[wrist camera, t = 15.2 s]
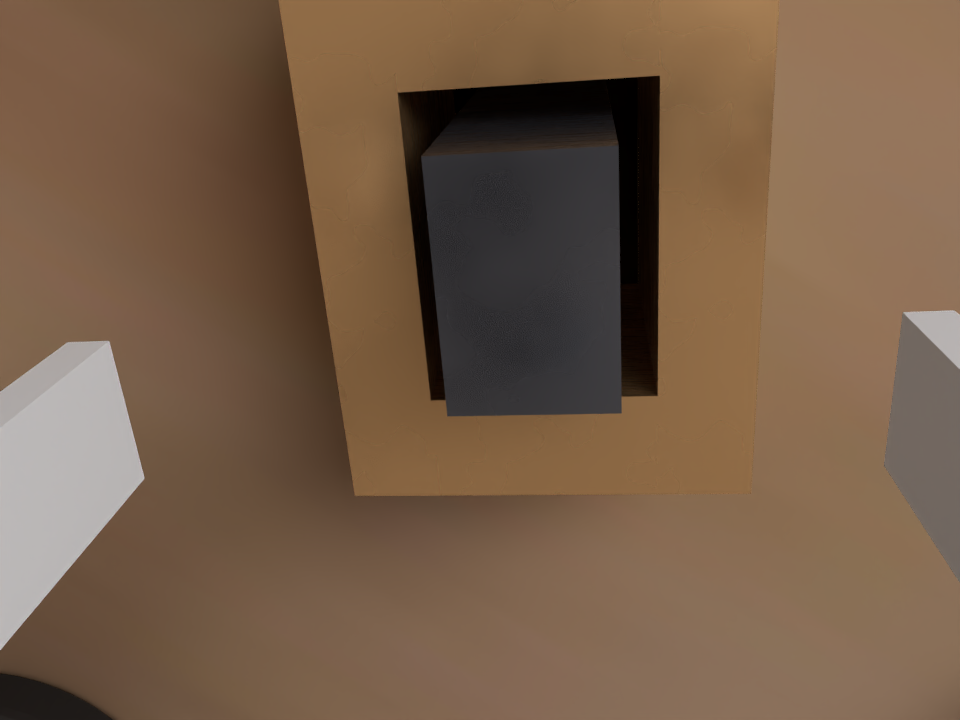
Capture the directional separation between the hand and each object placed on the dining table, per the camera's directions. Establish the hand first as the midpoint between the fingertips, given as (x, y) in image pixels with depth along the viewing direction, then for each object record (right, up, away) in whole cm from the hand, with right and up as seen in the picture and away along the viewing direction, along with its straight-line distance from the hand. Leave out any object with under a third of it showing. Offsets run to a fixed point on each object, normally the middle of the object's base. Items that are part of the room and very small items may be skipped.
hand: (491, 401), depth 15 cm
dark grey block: (+2, +7, +15) cm, 17 cm away
